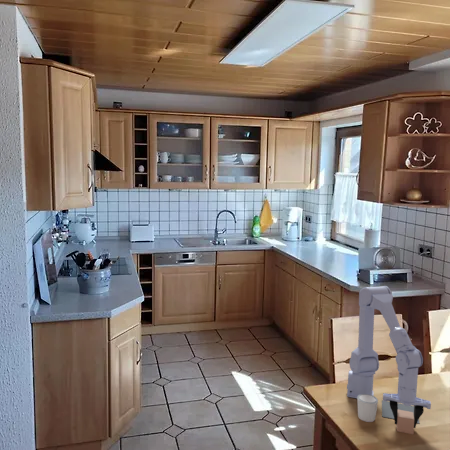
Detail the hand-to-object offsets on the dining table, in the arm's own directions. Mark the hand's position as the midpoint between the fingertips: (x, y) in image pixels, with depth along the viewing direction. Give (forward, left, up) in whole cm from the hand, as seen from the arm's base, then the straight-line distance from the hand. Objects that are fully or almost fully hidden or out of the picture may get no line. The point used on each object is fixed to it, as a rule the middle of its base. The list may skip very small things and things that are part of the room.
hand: (404, 424), depth 143 cm
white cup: (-12, +3, -2) cm, 13 cm away
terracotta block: (0, 0, -1) cm, 1 cm away
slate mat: (-1, +11, -1) cm, 11 cm away
